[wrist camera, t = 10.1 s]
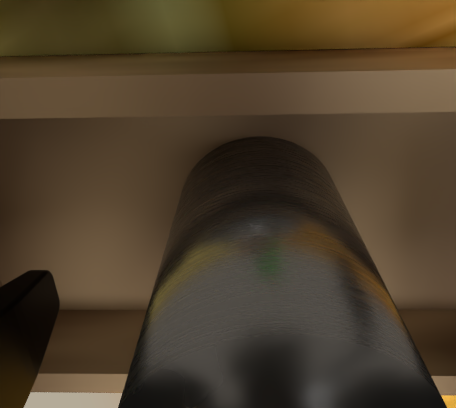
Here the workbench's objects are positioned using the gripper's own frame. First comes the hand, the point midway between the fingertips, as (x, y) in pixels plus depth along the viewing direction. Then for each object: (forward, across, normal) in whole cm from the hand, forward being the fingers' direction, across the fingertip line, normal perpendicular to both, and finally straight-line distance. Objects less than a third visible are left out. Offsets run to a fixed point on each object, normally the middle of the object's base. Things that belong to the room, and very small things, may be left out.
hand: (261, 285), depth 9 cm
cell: (+3, 0, 0) cm, 3 cm away
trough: (+4, 0, 0) cm, 4 cm away
